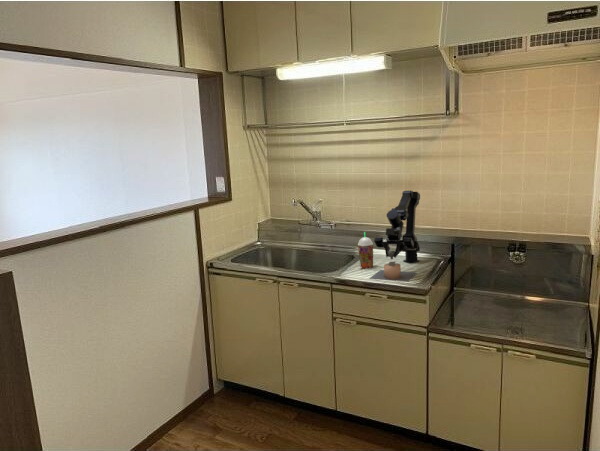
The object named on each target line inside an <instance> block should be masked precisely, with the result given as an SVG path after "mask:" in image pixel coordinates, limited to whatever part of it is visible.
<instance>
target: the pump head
mask: <svg viewBox="0 0 600 451" xmlns="http://www.w3.org/2000/svg"><path fill="white" fill-rule="evenodd" d="M394 254H395V250H393V249H392V250H389V251H388V257H389V258H390V260H394ZM388 257H387V258H388Z"/></svg>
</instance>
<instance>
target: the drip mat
mask: <svg viewBox="0 0 600 451" xmlns="http://www.w3.org/2000/svg"><path fill="white" fill-rule="evenodd" d="M418 273H419V272H417V271H402V270H401V278H399V279H386V278H385V276H384V269H380V270H379V271H378V270H377V272H375V274H373V275H371V276H370V277H369V278H368V279H369V280H380V281H381V280H382V281H395V282H396V281H397V282H411V280H412V279H413V278H414V277H415V276H416V275H417V274H418Z"/></svg>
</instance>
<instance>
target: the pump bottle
mask: <svg viewBox="0 0 600 451" xmlns="http://www.w3.org/2000/svg"><path fill="white" fill-rule="evenodd" d="M383 270H384V276H385V278H386V279H399V278H401V271H402V267H401V263H396V261H389V262H388V263H386V264H384V265H383Z"/></svg>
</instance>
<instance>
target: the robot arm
mask: <svg viewBox="0 0 600 451" xmlns="http://www.w3.org/2000/svg"><path fill="white" fill-rule="evenodd" d="M420 199H421V194H420V192H418V191H414V190H404V191H402V195H401V198H400V201H399V203H398V205H397V206H395V207H392V208H391V209H390V210H389V211H387V213H386V218H387V220H388V222H389V224H390V225H391V226H390V228H389V227H388V228H386V229H385V236H386V238H384V237H383V236H376V237H375V238H374V240H373V241H374V242H373V243H374V244H375V245H376V247H377V248H383V249H384V250H385V257H386V258H388V251H390V249H391V248H390V245H396V246H395V247H396V248H395V250H394V251H395V254H394V257H393V259H394V258H397V256H399V254H401V252H405V254H404V255H405V259H404V260H403V262H405V263H408V264H414V263H417V262H420V260H419V259H418V252H420V251H421V247H420V244H419V242H418V237H417V235H416V234H415V232H416V231H415V229H416V228H415V227H416V210H417V209H416V208H417V206H418V205H419V204H420ZM403 221H406V222H405V223H404V222H403ZM404 224H406V225H405V233H404V234H402V233H403V229H404ZM401 239H402V240H401Z"/></svg>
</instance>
